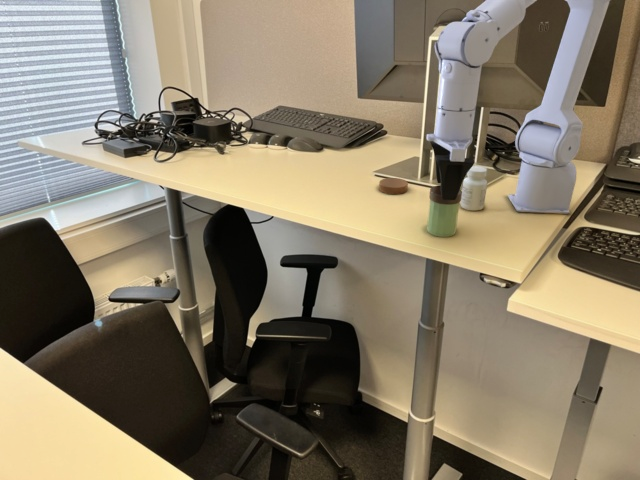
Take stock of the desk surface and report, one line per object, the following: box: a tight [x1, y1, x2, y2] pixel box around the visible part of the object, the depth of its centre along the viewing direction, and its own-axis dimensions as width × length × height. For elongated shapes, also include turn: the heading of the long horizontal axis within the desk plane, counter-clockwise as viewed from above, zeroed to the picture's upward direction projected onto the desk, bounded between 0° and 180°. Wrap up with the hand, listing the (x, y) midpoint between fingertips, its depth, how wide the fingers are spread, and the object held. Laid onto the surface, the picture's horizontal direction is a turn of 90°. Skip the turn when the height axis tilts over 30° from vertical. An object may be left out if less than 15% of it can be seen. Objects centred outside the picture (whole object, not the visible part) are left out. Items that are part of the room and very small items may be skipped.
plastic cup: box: [426, 199, 461, 238], centre depth 80 cm, size 5×5×6 cm
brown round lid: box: [429, 184, 462, 205], centre depth 78 cm, size 5×5×2 cm
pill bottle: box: [459, 165, 488, 212], centre depth 89 cm, size 4×4×8 cm
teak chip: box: [378, 177, 409, 195], centre depth 99 cm, size 6×6×2 cm
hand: (445, 190), depth 78 cm, fingers open, 7 cm apart
